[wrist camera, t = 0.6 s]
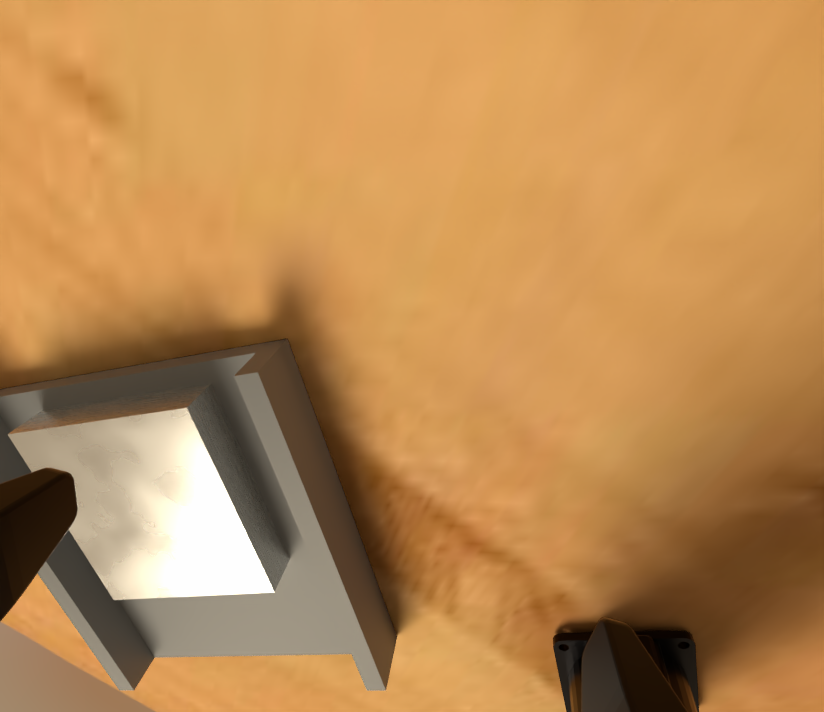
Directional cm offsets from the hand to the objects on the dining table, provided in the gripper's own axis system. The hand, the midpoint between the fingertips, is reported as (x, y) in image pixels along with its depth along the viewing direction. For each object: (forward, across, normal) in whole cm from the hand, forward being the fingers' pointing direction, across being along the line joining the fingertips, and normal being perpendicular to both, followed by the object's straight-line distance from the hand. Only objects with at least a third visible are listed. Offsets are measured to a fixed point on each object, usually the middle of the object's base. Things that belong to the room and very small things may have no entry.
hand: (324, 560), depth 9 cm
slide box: (+13, +9, +15) cm, 22 cm away
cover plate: (+12, +10, +12) cm, 20 cm away
